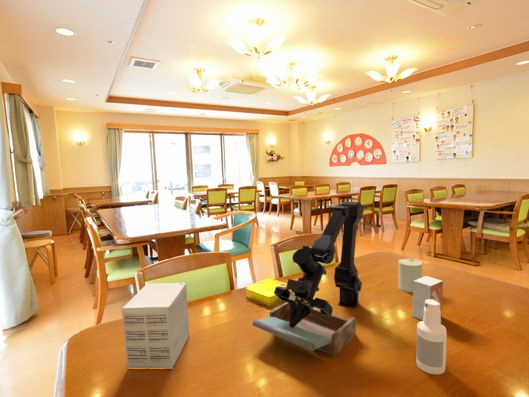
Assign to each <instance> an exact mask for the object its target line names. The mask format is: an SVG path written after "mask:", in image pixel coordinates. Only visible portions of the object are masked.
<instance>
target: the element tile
mask: <svg viewBox="0 0 529 397" xmlns="http://www.w3.org/2000/svg"><path fill="white" fill-rule="evenodd" d="M278 286H280V287H283V288H286V287H287V282H283V281H281V280H278V279H275V278H271V277H267V278H264V279H262V280H260V281H257V282H255V283H253V284H250V285H248V286H247V287H246V289H245V291H246V297H248V299H249V298H250V300H252V299H253V300H252V301H254V300H255V301H254V302H257V301H258V302H257V303H259V302H260V304H262V305H264V304H265V305H264V306H267V305H268V306H267V307H274V306H276V305H277V303H278V304H279V302H280V303H281V301H282V300H280V299H279V298H278V297H277V296H276V295H275V294H274V293H273V292H274V290H275V288H276V287H278ZM289 291H290V292H291V293H292V294H294V293H293V292H292V290H290V289H289ZM282 302H283V301H282ZM275 304H276V305H275ZM273 305H274V306H273Z"/></svg>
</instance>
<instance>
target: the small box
mask: <svg viewBox="0 0 529 397" xmlns="http://www.w3.org/2000/svg"><path fill="white" fill-rule="evenodd" d="M443 288H444V280H441V279H437V278H434V277H431V276H428V275H425V276H422V278H419V279H417V280H414V281H413V293H412V310H411V313H412V314H411V315H412V317H414V318H416V319H418V320H421V321H423V316H424V308H425V300H427V299H433V300H435V301H436V302H438V303H439V304H440V311H441V316H442V309H443Z"/></svg>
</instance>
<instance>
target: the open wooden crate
mask: <svg viewBox="0 0 529 397" xmlns="http://www.w3.org/2000/svg"><path fill="white" fill-rule="evenodd" d="M269 317H276V318H278V319H281V320H283V321H286V322H288V323H289V322H290V304H289V303H288V302H285V301H284V303H282V304H280V305H278V306H277V307H275V308H274V309H272V310H270V311H269ZM356 319H357V318H356V317H355V316H352V317H350V318H349V319H347V318H344V317H341V316H338V315H335V314H333V313H332V314H331V317H329V316H326V315H323V314H321V311H320V309H317V308H313V314H311V313H310V314H309V315H307V316H306V317H305V318H303V319H302V320H301V321H300V322H299V323H298V324H297V325H296V326H299V327H301V328H304V329H306V330H309V331H312V332H314V333H317V334H319V335H322V336H324V337H327V338H330V343H329V344H327V345H324V346H322V347H320V348H317V349H316V350H319V351H321V352H324V353H326V354H328V355H331V356H333V357H336V356H337V355H338V354H339V353H340V352H341V351H342V350H343V349H344V348H345V347H346V346H347V345H348V344H350V342H351V341H352V340H353V339H354V338H355V337H356V336H357V331H356V330H357V325H356V324H357V323H356V322H357V320H356Z"/></svg>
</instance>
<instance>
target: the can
mask: <svg viewBox="0 0 529 397" xmlns="http://www.w3.org/2000/svg"><path fill="white" fill-rule="evenodd" d="M422 269H423V262H422V261H420V260H417V259H413V258H401V259H399V260H398V283H397V284H398V285H397V288H398V289H399V290H401V291H403V292H405V293H411V294H413V281H414V280H417V279H419V278H422V277H423V276H422V274H423V270H422Z"/></svg>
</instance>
